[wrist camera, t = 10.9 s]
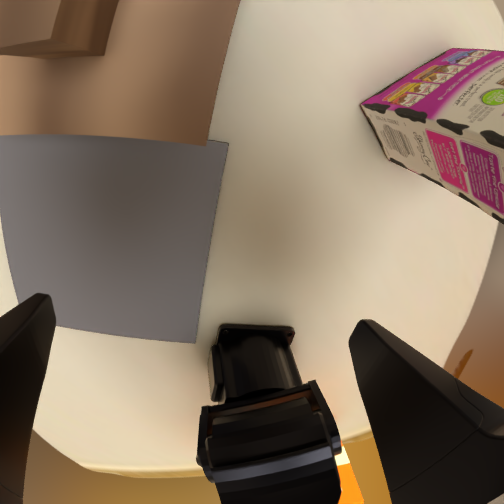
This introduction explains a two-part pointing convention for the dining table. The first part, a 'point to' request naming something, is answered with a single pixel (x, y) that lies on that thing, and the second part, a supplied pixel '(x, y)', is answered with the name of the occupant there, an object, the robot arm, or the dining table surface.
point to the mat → (111, 229)
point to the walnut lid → (113, 67)
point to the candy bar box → (448, 124)
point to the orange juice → (347, 480)
